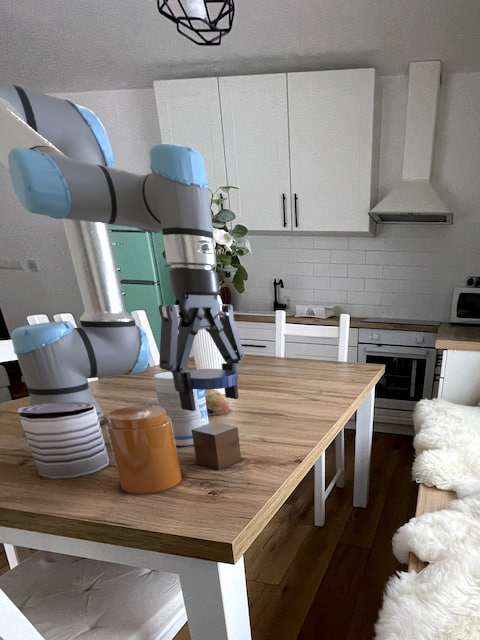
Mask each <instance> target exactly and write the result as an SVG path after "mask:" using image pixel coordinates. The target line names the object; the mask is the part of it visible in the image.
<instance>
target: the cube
mask: <svg viewBox="0 0 480 640" xmlns="http://www.w3.org/2000/svg"><path fill="white" fill-rule="evenodd" d="M191 431H192V437H193V443H194V445H193V450H194V456H195V461H196V462H195V463H196V464H197V465H200V466H204V467H207V468H210V469H215V470H217V471H220V470H222V469H224V468H227V467H229V466H231V465H233V464H235V463H237V462H240V461H241V460H242V454H241V444H240V436H239V427H238V426H237V425H231V424H226V423H223V422H219V421H214V422H211V423H210V422H209V424H207V425H204V426H201V427H198V428H195V429H192V430H191Z"/></svg>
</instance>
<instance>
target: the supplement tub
mask: <svg viewBox="0 0 480 640" xmlns="http://www.w3.org/2000/svg"><path fill="white" fill-rule="evenodd" d="M153 380H154V381H153V384H154V389H155V394H156V397H157V398H156V399H157V405H158V407H162V408H164V409H165V411H166V416H169V417H170V418H171V422H172V427H173V433H174V438H175V443H176V447H177V446H179V447H186V446H194V443H193V437H192V431H191V430H192V429H195V428H198V427H201V426H204V425H207V424H210V422H209V416H208V414H207V407H206V400H205V394H204V390H197V389H193V394H194V400H195V406H196V410H195V411H189V410H184V409H182V407H181V401H180V396H179V392H177V391H176V389H175V385H174V380H173V374H172V372H171V371H165V372H159V373H156V374H154V375H153Z"/></svg>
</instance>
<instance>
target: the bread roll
mask: <svg viewBox="0 0 480 640" xmlns="http://www.w3.org/2000/svg"><path fill="white" fill-rule="evenodd" d="M204 394H205V400H206V407H207V414H208V417H209V416H222V415H225V414H227V413H228V412H229V411H230V405H229V399H228V398H226V396H225V394H222V392H220V391H218V390H217V389H209V390H204Z"/></svg>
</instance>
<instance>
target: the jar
mask: <svg viewBox="0 0 480 640" xmlns="http://www.w3.org/2000/svg"><path fill="white" fill-rule="evenodd" d="M106 420H108V421H107V422H106V424H105V428H106V432H107V436H108V440H109V444H110V447H111V451H112V456H113V459H114V463H115V467H116V472H117V475H118V479H119V483H120V487H121V489H122V490H123V491H124V492H126V493H130V494H138V495H143V494H144V495H145V494H154V493H158V492H162V491H166V490H168V489H171V488H173V487H175V486H176V485H179V483H180V482H181V481H182V479H183V476H182V471H181V466H180V460H179V455H178V450H177V445H176V443H175V438H174V433H173V427H172V422H171V418H170V417H169V416H166V411H165V409H164V408H162V407H159V405H134V406H128V407H122V408H117V409H114V410H112V411H110V412H109V413H108V414H107V417H106Z"/></svg>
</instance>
